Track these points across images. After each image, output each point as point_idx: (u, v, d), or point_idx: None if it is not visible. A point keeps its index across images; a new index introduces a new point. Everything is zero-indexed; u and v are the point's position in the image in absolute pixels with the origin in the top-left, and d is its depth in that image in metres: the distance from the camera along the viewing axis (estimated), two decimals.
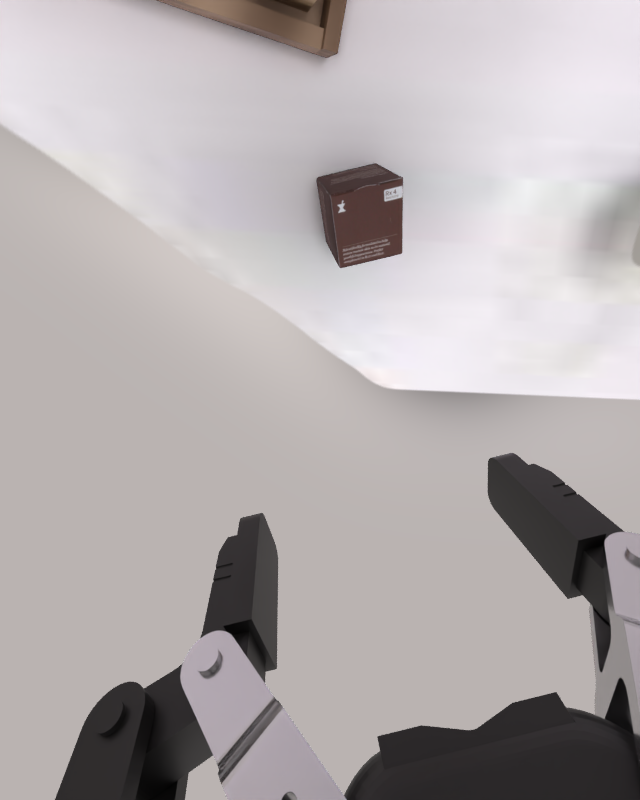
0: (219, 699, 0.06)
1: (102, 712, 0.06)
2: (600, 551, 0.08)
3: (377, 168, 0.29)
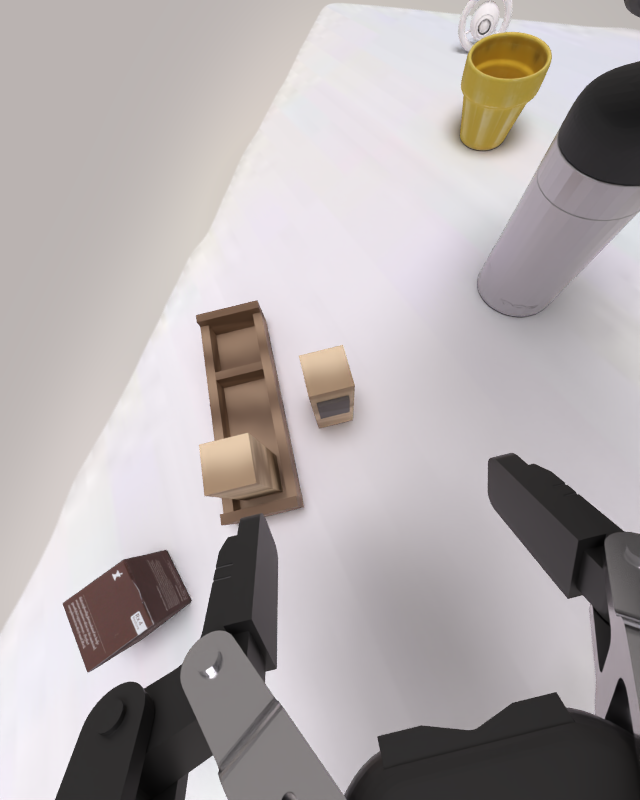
0: (219, 699, 0.06)
1: (102, 712, 0.06)
2: (600, 551, 0.08)
3: (179, 601, 0.31)
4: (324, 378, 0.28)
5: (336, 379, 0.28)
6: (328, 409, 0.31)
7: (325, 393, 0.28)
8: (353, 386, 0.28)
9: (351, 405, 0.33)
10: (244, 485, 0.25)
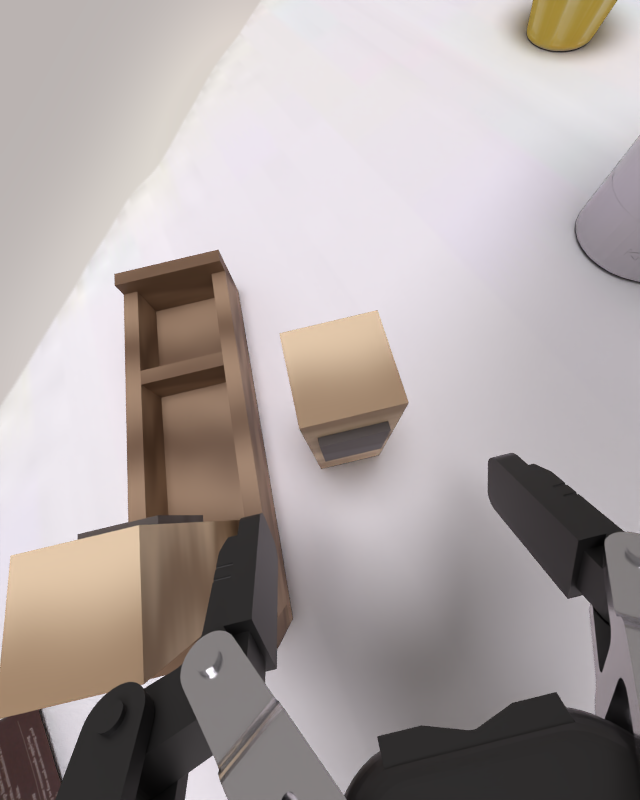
0: (219, 699, 0.06)
1: (102, 712, 0.06)
2: (600, 551, 0.08)
3: None
4: (336, 384, 0.12)
5: (364, 387, 0.12)
6: (342, 448, 0.15)
7: (338, 421, 0.12)
8: (406, 405, 0.12)
9: None
10: (111, 688, 0.09)
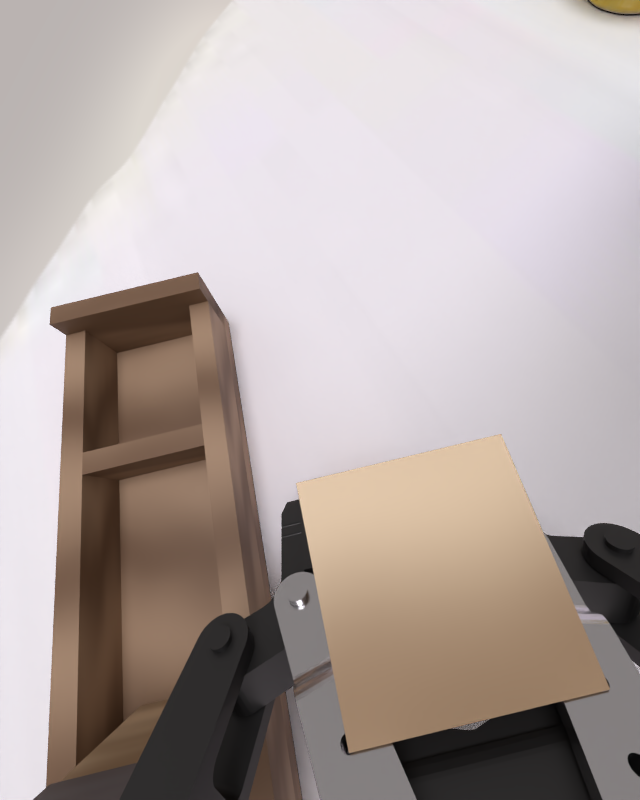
0: (315, 623, 0.07)
1: (214, 631, 0.07)
2: None
3: None
4: (428, 625, 0.05)
5: (497, 637, 0.05)
6: None
7: (438, 719, 0.05)
8: (592, 681, 0.05)
9: None
10: None
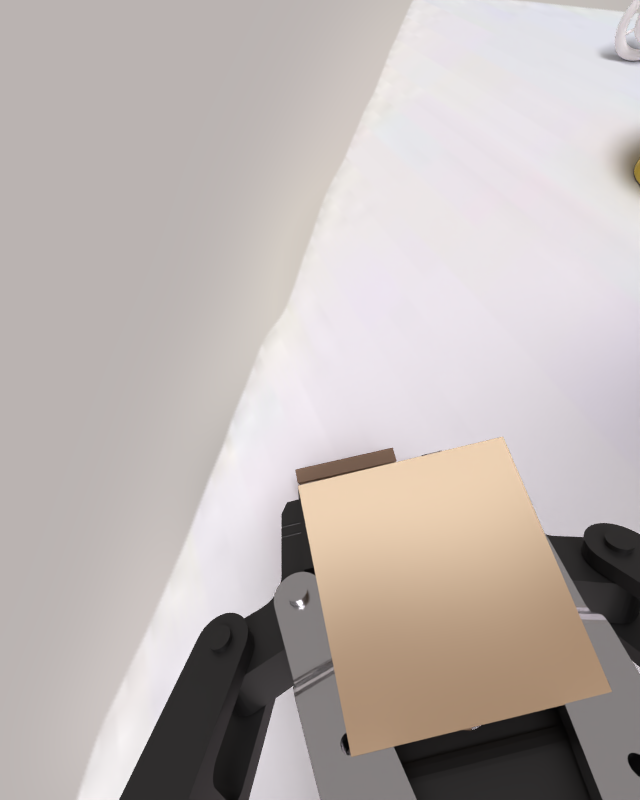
0: (316, 623, 0.07)
1: (214, 631, 0.07)
2: None
3: None
4: (431, 628, 0.05)
5: (499, 640, 0.05)
6: None
7: (440, 723, 0.05)
8: (595, 684, 0.05)
9: None
10: None
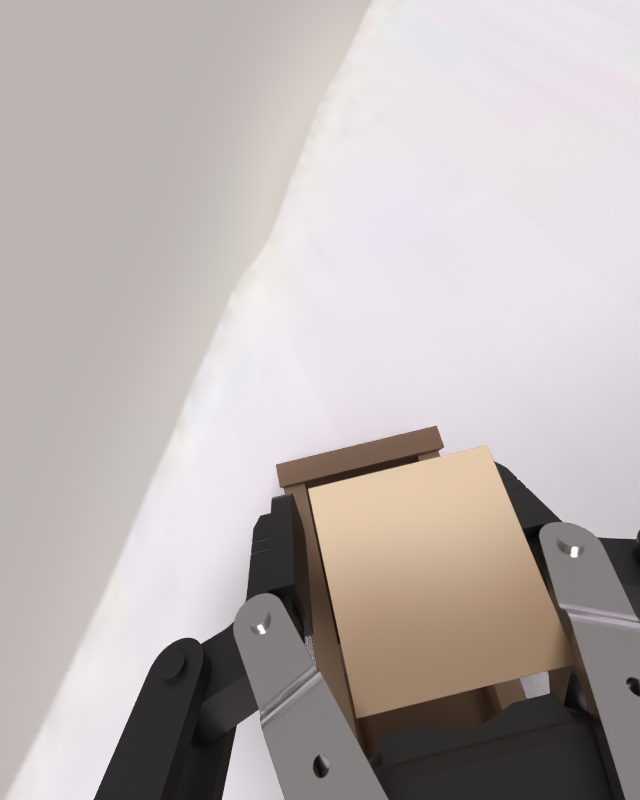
0: (273, 650, 0.07)
1: (167, 660, 0.07)
2: (538, 540, 0.08)
3: None
4: (423, 610, 0.06)
5: (482, 620, 0.06)
6: None
7: (432, 691, 0.06)
8: (564, 657, 0.06)
9: None
10: None
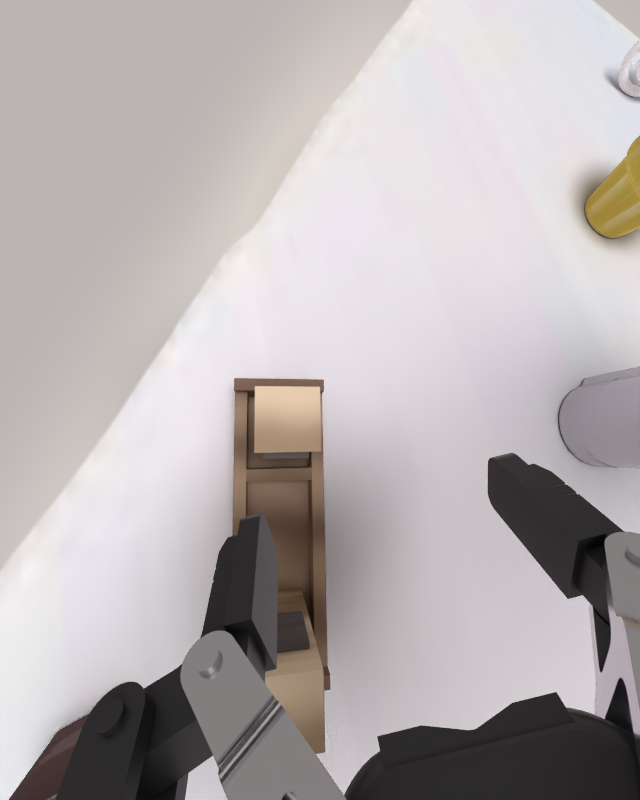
0: (219, 699, 0.06)
1: (102, 712, 0.06)
2: (600, 551, 0.08)
3: None
4: (282, 430, 0.20)
5: (299, 436, 0.20)
6: None
7: (278, 452, 0.20)
8: None
9: None
10: None
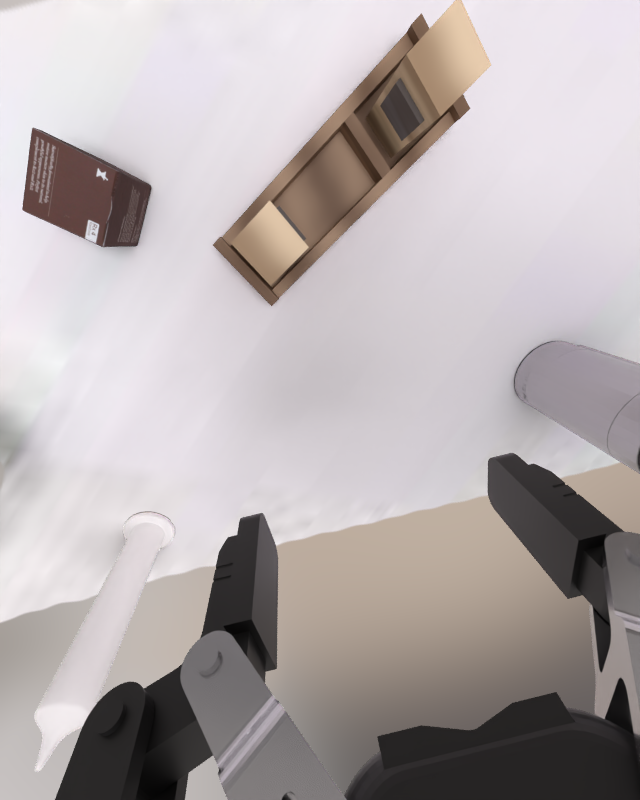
0: (219, 699, 0.06)
1: (102, 712, 0.06)
2: (600, 551, 0.08)
3: (129, 240, 0.31)
4: (437, 63, 0.21)
5: (441, 84, 0.21)
6: (396, 104, 0.24)
7: (417, 79, 0.21)
8: (438, 117, 0.22)
9: (410, 138, 0.27)
10: (262, 275, 0.25)
